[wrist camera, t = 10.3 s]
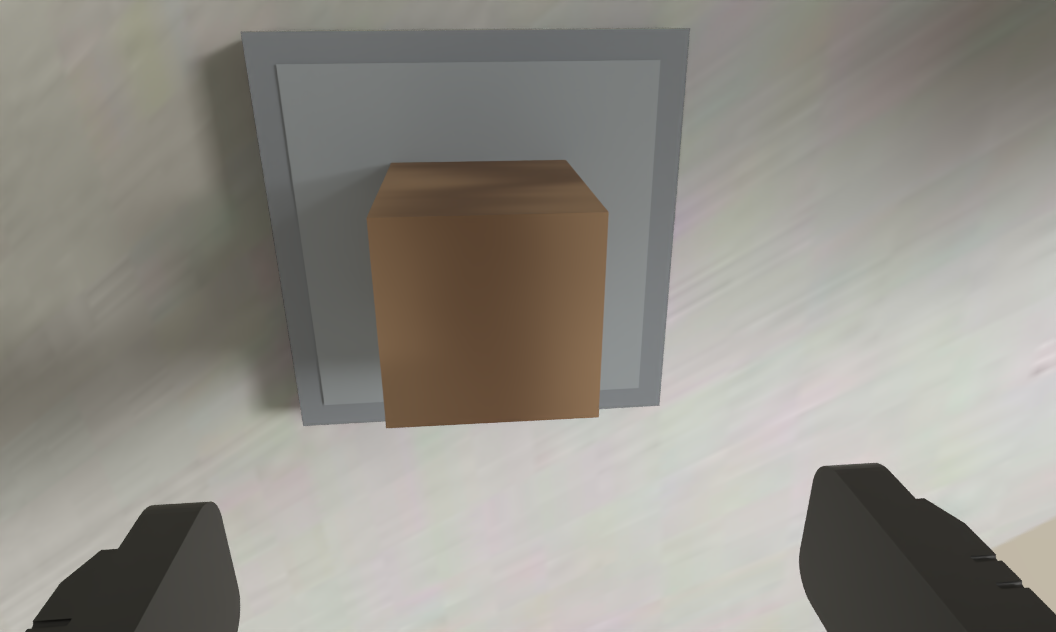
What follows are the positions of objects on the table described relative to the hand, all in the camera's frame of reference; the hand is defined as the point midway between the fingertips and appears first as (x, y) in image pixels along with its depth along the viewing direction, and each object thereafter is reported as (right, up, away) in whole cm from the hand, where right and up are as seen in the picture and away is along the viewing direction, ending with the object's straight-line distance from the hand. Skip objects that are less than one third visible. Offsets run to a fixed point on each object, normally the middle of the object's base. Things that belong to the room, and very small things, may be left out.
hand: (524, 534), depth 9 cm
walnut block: (-1, +5, +11) cm, 13 cm away
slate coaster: (-2, +6, +13) cm, 15 cm away
